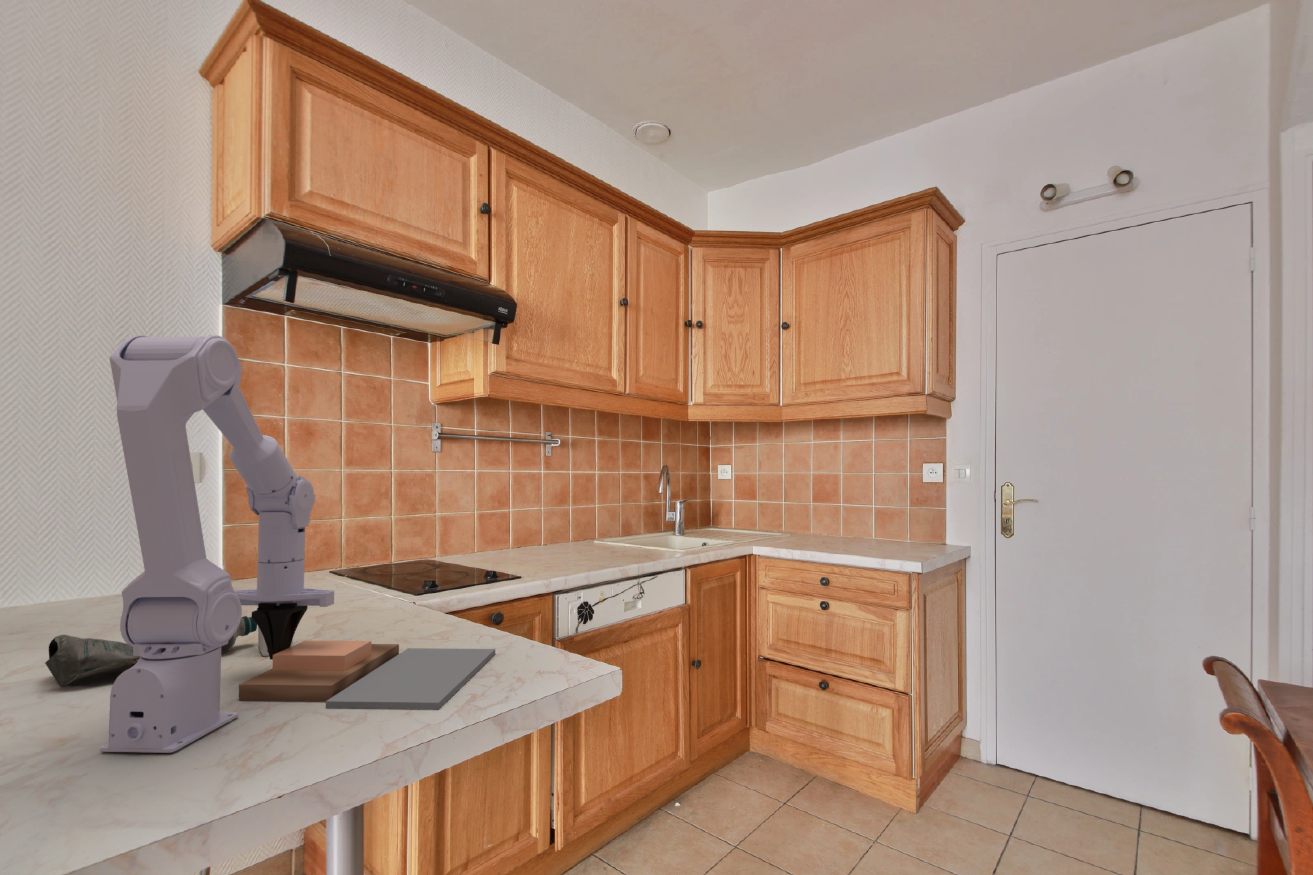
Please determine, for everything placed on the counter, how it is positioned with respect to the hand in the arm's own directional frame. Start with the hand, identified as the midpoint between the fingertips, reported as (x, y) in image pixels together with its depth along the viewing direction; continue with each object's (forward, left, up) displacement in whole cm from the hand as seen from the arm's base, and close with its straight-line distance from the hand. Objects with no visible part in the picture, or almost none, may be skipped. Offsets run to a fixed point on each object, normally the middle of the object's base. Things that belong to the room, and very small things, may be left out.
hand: (279, 657), depth 86 cm
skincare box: (+12, +9, -3) cm, 15 cm away
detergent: (+5, +22, -3) cm, 23 cm away
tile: (0, -6, -1) cm, 7 cm away
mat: (0, -20, -3) cm, 21 cm away
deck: (0, -7, -3) cm, 7 cm away
